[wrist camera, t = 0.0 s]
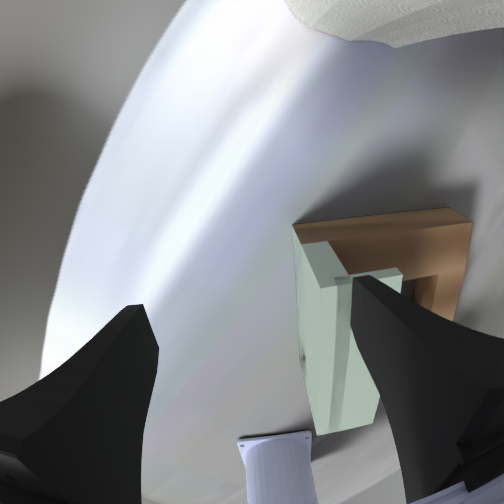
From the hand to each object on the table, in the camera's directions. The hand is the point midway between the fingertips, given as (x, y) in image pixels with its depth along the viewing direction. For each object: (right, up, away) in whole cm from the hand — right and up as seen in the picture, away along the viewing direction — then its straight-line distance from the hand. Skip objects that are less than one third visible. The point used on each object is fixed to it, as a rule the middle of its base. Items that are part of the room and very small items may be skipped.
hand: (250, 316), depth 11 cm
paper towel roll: (+5, +17, +4) cm, 18 cm away
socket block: (+10, -1, +12) cm, 16 cm away
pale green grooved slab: (+5, -1, +12) cm, 13 cm away
